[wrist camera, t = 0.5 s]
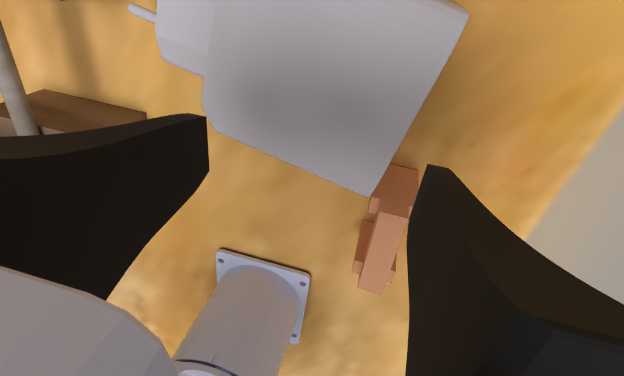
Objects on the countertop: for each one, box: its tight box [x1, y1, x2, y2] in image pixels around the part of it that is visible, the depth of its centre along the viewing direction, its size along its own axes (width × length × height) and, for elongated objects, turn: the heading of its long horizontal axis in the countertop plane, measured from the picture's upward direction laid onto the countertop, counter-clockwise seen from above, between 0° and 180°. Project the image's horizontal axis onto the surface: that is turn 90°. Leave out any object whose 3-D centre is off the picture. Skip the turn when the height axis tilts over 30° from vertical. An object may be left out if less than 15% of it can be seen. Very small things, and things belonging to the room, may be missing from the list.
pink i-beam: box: [352, 164, 419, 295], centre depth 20 cm, size 6×2×5 cm, turn 173°
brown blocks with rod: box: [0, 0, 146, 137], centre depth 20 cm, size 14×8×6 cm, turn 173°
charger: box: [128, 0, 469, 198], centre depth 17 cm, size 5×9×15 cm
